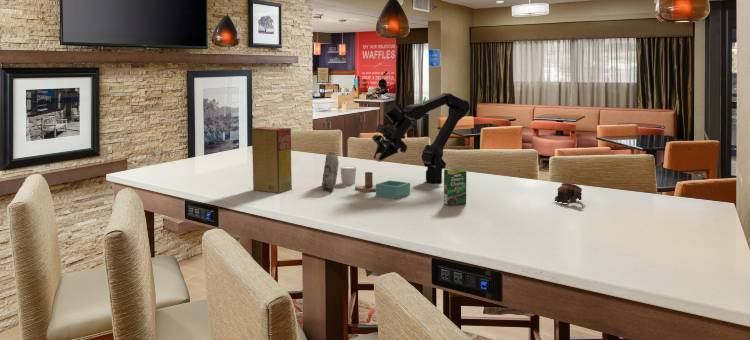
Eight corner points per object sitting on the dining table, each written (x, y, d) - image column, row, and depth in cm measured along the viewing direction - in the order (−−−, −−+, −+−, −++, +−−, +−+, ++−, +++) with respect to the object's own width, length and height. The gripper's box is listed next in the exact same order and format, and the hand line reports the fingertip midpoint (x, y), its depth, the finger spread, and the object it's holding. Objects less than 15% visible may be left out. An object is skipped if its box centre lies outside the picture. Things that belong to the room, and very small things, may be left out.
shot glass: (354, 185, 242) (354, 168, 241) (338, 184, 243) (338, 168, 242) (358, 182, 248) (358, 166, 247) (342, 181, 250) (342, 165, 249)
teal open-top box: (389, 191, 229) (389, 180, 229) (410, 194, 224) (410, 182, 223) (375, 195, 222) (375, 184, 221) (396, 198, 216) (397, 186, 215)
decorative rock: (323, 184, 243) (323, 149, 240) (339, 184, 243) (339, 149, 240) (320, 192, 227) (319, 154, 224) (336, 192, 227) (336, 154, 224)
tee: (372, 187, 238) (372, 170, 237) (382, 190, 231) (382, 173, 230) (355, 189, 234) (355, 172, 232) (365, 192, 227) (365, 175, 226)
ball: (385, 161, 235) (384, 152, 234) (383, 162, 231) (383, 153, 230) (376, 160, 235) (376, 152, 234) (374, 162, 232) (374, 153, 231)
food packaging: (293, 189, 233) (291, 127, 228) (278, 193, 225) (277, 129, 220) (267, 186, 239) (265, 126, 235) (252, 190, 231) (249, 128, 227)
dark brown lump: (547, 202, 214) (555, 181, 215) (568, 212, 215) (576, 192, 217) (565, 200, 202) (573, 179, 204) (587, 211, 204) (595, 190, 205)
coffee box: (446, 206, 204) (447, 169, 202) (442, 204, 207) (443, 168, 205) (466, 204, 207) (467, 168, 205) (462, 202, 210) (463, 167, 208)
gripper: (375, 115, 240) (353, 143, 236) (401, 118, 224) (377, 148, 220) (391, 132, 245) (369, 160, 241) (417, 137, 230) (394, 167, 226)
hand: (377, 159), depth 232 cm, fingers closed on ball, 4 cm apart
